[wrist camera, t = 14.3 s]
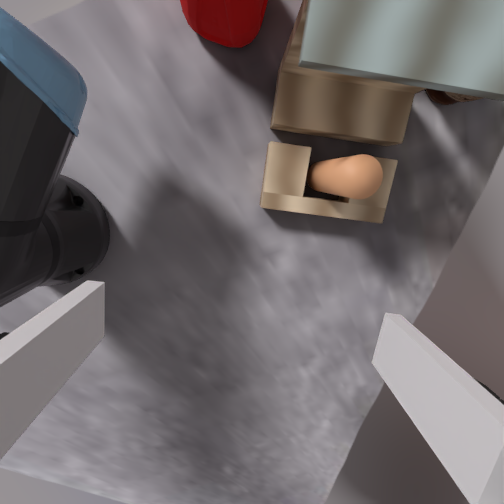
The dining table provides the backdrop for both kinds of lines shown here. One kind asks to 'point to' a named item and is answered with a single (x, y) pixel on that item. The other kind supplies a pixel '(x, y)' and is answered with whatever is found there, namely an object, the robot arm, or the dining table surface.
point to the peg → (346, 176)
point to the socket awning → (373, 83)
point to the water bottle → (225, 19)
